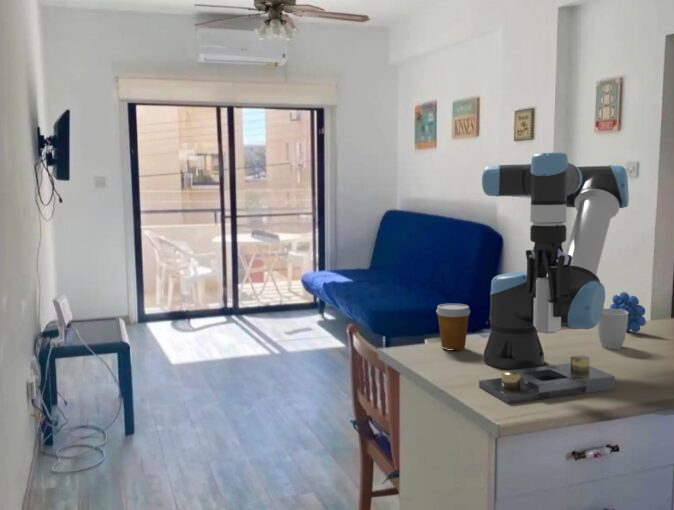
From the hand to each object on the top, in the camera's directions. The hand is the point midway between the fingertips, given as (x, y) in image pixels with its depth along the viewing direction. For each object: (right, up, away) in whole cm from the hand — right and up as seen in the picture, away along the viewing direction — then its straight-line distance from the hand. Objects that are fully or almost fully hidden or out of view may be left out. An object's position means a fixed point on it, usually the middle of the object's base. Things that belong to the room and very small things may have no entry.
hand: (546, 328), depth 144 cm
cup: (+30, -9, +36) cm, 47 cm away
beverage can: (0, -1, 0) cm, 1 cm away
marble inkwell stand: (0, -14, +2) cm, 14 cm away
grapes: (+41, -7, +53) cm, 67 cm away
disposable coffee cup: (-14, -10, +38) cm, 42 cm away
